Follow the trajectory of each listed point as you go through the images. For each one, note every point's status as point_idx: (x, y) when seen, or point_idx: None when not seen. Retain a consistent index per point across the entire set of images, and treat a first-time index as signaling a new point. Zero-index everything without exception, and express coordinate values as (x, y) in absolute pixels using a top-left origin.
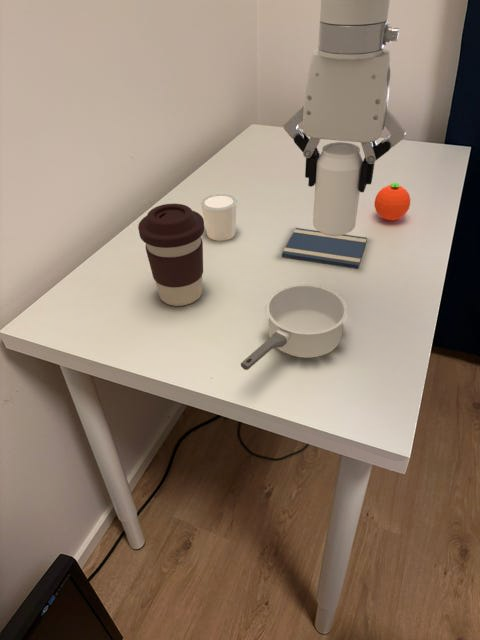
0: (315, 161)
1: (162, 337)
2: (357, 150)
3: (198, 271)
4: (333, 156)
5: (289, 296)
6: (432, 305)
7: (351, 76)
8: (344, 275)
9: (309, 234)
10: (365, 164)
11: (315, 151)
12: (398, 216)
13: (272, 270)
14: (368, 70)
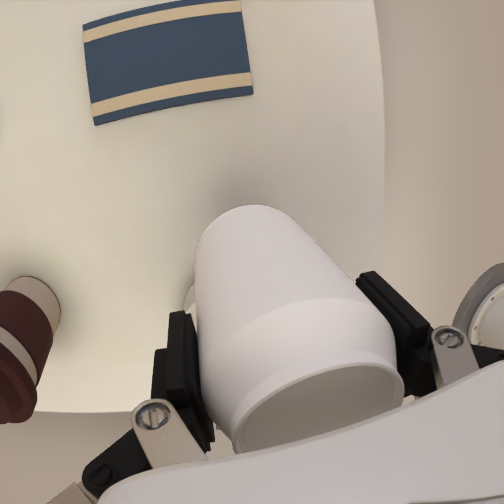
0: (212, 431)
1: (83, 374)
2: (392, 382)
3: (47, 336)
4: None
5: (194, 299)
6: (383, 156)
7: None
8: (234, 125)
9: (118, 32)
10: (406, 394)
11: (200, 445)
12: None
13: (103, 176)
14: None
